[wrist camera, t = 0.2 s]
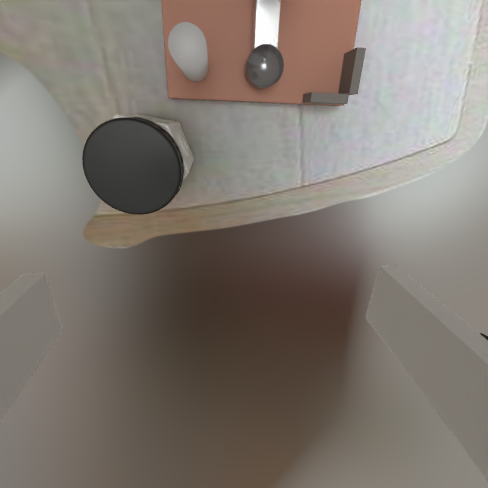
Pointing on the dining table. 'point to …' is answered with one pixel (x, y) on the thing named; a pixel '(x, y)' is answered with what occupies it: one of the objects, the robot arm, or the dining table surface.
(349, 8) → the seat
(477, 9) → the dining table surface
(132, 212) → the jar
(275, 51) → the shiny metal angled handle
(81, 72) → the dining table surface
